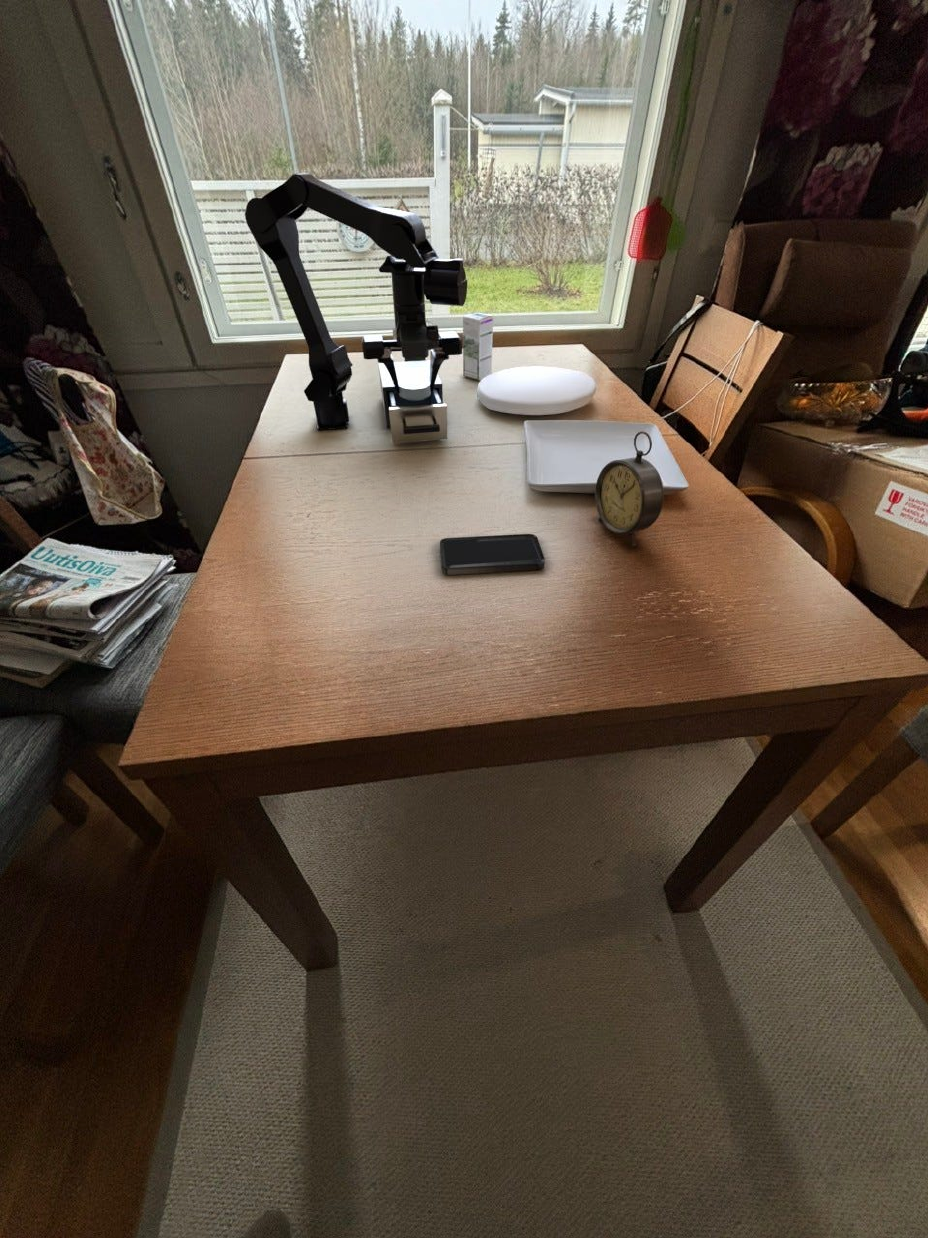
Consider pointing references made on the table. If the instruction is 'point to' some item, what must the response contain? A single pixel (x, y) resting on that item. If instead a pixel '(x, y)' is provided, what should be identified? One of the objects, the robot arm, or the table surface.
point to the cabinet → (405, 372)
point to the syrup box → (477, 345)
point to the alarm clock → (629, 494)
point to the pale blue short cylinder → (414, 389)
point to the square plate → (592, 453)
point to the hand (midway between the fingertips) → (414, 391)
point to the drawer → (417, 418)
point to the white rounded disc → (536, 390)
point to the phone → (491, 554)
